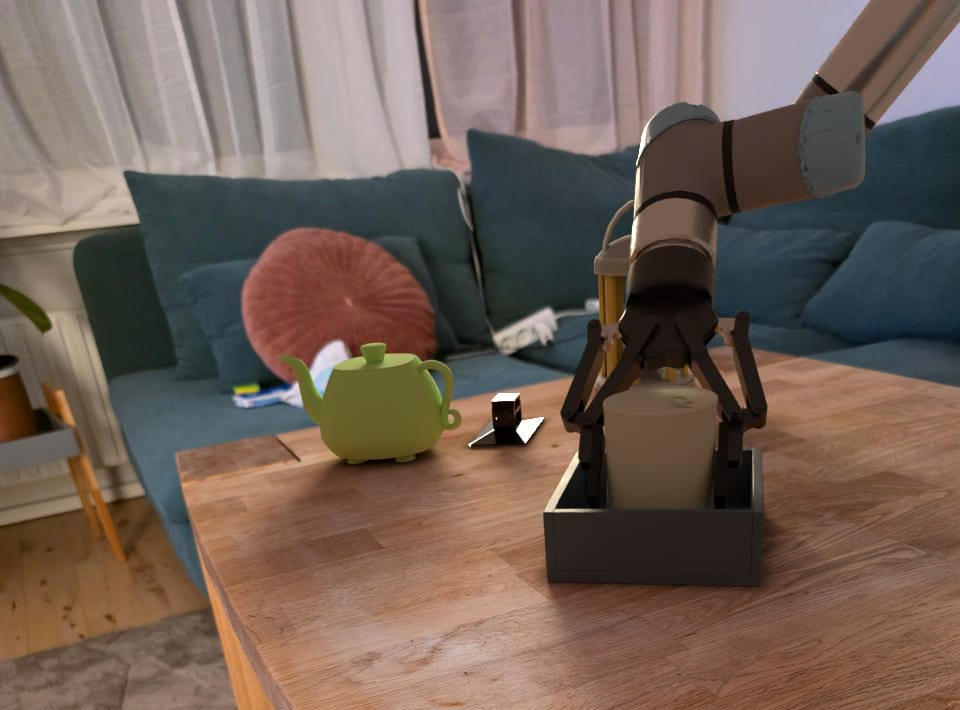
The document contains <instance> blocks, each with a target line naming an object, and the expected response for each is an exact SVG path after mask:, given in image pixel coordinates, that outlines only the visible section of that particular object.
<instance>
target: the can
mask: <svg viewBox="0 0 960 710" xmlns="http://www.w3.org/2000/svg"><path fill="white" fill-rule="evenodd" d="M717 402H718V396H717V395H716V394H715V393H714V392H712V391H709V390H706V389H703V388H702V387H696V386H695V387H686V386H658V387H646V388H639V389H633V390H628V391H624V392H620V393H617V394H614V395H612V396H610V397H608V398H606V399H605V400H604V402H603V409H604V424H605V425H604V434H605V450H606V479H607V509H713V505H714V466H715V448H716V438H717V437H716V436H717V415H718V414H717Z"/></svg>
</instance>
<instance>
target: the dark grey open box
mask: <svg viewBox="0 0 960 710" xmlns="http://www.w3.org/2000/svg"><path fill="white" fill-rule="evenodd" d="M578 451H579V450H577V451H576V452H575V454H574V456H573V458H572V459H571V461H570V463H569V465H568V466H567V468H566V470H565V472H564V474H563V475H562V477H561V479H560V481H559V483H558V485H557V487H556V488H555V490H554V492H553V493H552V495H551V497H550V499H549V501H548V503H547V504H546V506H545V508H544V510H543V512H542V521H543V535H544V550H545V552H544V553H545V566H546V580H547V582H548V583H549V582H550V583H585V584H587V583H590V584H591V583H593V584H633V585H634V584H636V585H674V586H675V585H677V586H678V585H681V586H718V587H719V586H721V587H723V586H725V587H761V580H762V579H761V578H762V563H763V562H762V560H763V543H764V529H765V527H764V526H765V496H764V495H765V494H764V493H765V491H764V472H763V471H764V470H763V468H764V467H763V447H743V452H742V464H741V466H740V468H739V469H727V480H726V502H725V509H716V476H717V456H718V447H715V466H714V505H713V509H607V479H606V449H605V458H604V469H603V481H602V493H601V504H600V509H591V508H590V504H589V501H588V498H587V489H588V478H589V470H582V468H581V465H580V462H579V459H578Z"/></svg>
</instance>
